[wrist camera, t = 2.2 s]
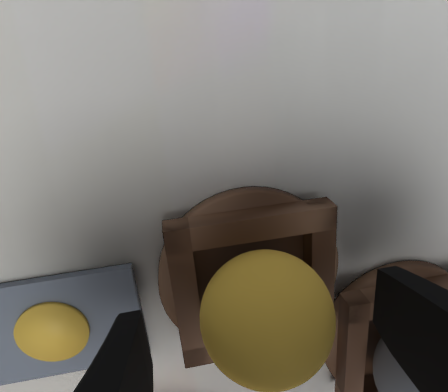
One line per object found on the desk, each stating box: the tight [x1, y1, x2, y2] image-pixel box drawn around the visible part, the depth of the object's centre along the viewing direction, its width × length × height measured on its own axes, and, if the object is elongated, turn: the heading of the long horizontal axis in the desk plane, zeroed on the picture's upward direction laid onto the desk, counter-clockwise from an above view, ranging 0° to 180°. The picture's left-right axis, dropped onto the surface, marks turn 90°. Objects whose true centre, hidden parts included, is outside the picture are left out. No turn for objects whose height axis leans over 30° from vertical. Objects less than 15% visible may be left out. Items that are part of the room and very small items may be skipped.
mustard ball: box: [199, 249, 336, 392], centre depth 11 cm, size 4×4×4 cm
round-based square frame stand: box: [158, 187, 338, 368], centre depth 13 cm, size 6×6×1 cm
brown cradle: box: [325, 260, 448, 392], centre depth 15 cm, size 6×6×1 cm
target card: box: [0, 263, 150, 385], centre depth 13 cm, size 6×4×1 cm, turn 95°
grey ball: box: [373, 338, 419, 392], centre depth 13 cm, size 4×4×4 cm
